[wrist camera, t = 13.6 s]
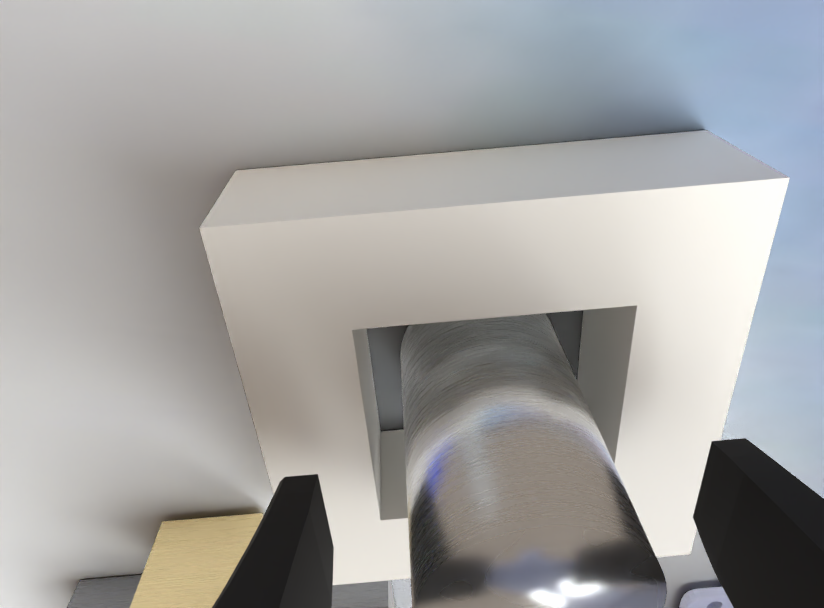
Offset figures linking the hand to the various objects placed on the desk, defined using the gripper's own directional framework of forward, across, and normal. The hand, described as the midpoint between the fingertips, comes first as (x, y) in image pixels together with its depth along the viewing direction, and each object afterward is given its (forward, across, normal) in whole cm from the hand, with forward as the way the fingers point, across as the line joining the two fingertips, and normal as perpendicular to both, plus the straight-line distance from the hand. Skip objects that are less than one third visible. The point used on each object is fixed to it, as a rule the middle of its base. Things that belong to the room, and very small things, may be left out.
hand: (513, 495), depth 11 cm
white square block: (+5, 0, 0) cm, 5 cm away
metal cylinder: (+5, 0, 0) cm, 5 cm away
